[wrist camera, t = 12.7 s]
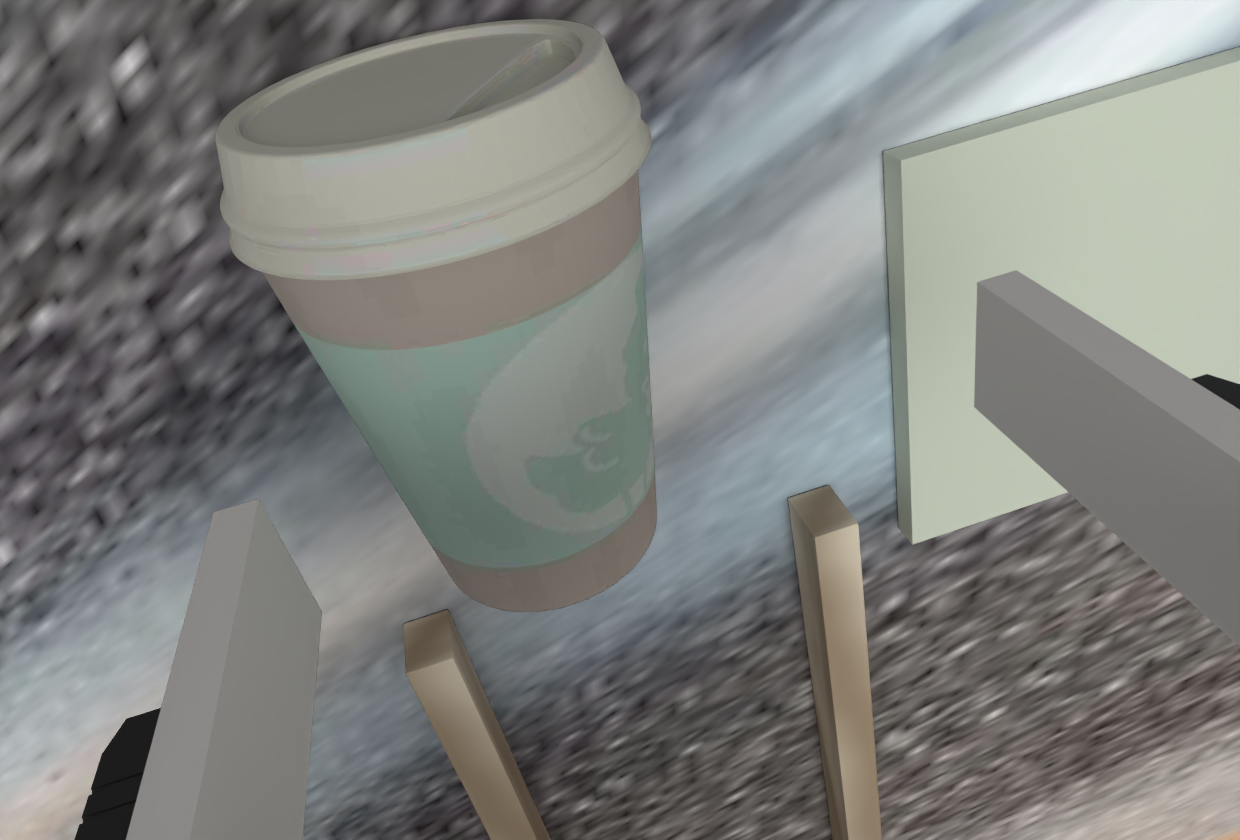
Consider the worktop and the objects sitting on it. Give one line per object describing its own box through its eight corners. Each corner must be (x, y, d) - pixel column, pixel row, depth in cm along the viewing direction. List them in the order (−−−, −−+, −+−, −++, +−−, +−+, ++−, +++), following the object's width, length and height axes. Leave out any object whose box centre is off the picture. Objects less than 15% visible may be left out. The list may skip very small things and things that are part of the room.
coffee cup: (512, 728, 19) (294, 215, 12) (343, 544, 25) (126, 124, 18) (778, 513, 23) (732, 24, 16) (577, 397, 29) (477, 0, 21)
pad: (898, 527, 32) (912, 544, 31) (882, 151, 24) (900, 160, 24) (1239, 413, 33) (1262, 426, 33) (1326, 20, 26) (1358, 25, 25)
